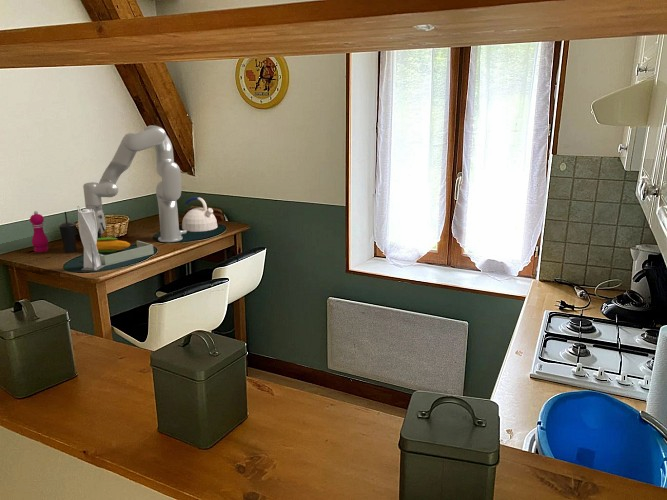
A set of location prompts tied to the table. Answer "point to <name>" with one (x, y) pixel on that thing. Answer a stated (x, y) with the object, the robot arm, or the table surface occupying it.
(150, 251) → the bin
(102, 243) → the corn
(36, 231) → the pepper mill
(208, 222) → the kettle
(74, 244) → the drinking cup
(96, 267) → the skyscraper
